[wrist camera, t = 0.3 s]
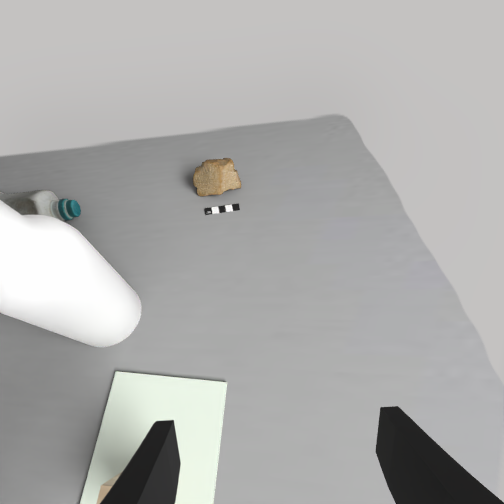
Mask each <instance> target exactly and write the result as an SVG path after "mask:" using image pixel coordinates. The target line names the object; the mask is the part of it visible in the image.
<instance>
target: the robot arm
mask: <svg viewBox="0 0 504 504" xmlns="http://www.w3.org/2000/svg"><path fill="white" fill-rule="evenodd" d="M376 454H377V457H378V460H379V463H380V465H381V468H382V471H383V474H384V477H385V479H386V482H387V485H388V487H389V490H390V492H391V494H392V496H393V498H394V501H395V503H396V504H504V503H503V502H502V501H501V500H500V499H499V498H498V497H496V496H495V495H494V494H493V493H492V492H490V491H489V490H488V489H487V488H486V487H485V486H483V485H482V484H481V483H480V482H479V481H478V480H476V479H475V478H474V477H473V476H472V475H471V474H470V473H468V472H467V471H466V470H465V469H464V468H463V467H462V466H461V465H460V464H458V463H457V462H456V461H455V460H454V459H453V458H452V457H451V456H450V455H449V454H447V453H446V452H445V451H444V450H443V449H442V448H441V447H440V446H439V445H438V444H437V443H436V442H435V441H434V440H433V439H431V438H430V437H429V436H428V435H427V434H426V433H425V432H424V431H423V430H422V429H421V428H420V427H419V426H418V425H417V424H416V423H415V422H414V421H413V420H412V419H411V418H410V417H409V416H408V415H406V414H405V413H404V412H403V411H402V410H401V409H400V408H399V407H398V406H396V407H381V408H380V417H379V426H378V435H377V444H376ZM180 466H181V462H180V455H179V449H178V443H177V437H176V431H175V425H174V420H164V421H156V422H155V423H154V424H153V425H152V427H151V428H150V430H149V432H148V433H147V435H146V437H145V438H144V440H143V441H142V443H141V445H140V446H139V448H138V449H137V451H136V452H135V454H134V455H133V457H132V458H131V460H130V461H129V463H128V464H127V466H126V467H125V469H124V470H123V472H122V473H121V475H120V476H119V477H118V479H117V480H116V482H115V483H114V485H113V486H112V488H111V489H110V490H109V492H108V493H107V495H106V496H105V497H104V499H103V500H102V501H101V503H100V504H175V501H176V495H177V488H178V481H179V473H180Z"/></svg>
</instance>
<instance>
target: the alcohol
mask: <svg viewBox="0 0 504 504" xmlns="http://www.w3.org/2000/svg"><path fill="white" fill-rule="evenodd" d="M0 313H2V314H5V315H8V316H10V317H13V318H16V319H19V320H21V321H24V322H27V323H30V324H32V325H35V326H38V327H41V328H43V329H46V330H49V331H52V332H55V333H57V334H60V335H63V336H66V337H68V338H71V339H74V340H77V341H79V342H82V343H85V344H88V345H90V346H95V347H107V346H112V345H115V344H117V343H119V342H121V341H122V340H124V339H125V338H127V337H128V336H129V335H130V334H131V333H132V332H133V330H134V329H135V328H136V326H137V324H138V322H139V319H140V317H141V302H140V298H139V296H138V295H137V293H136V292H135V291H134V290H133V289H132V288H131V286H130V285H129V284H128V283H127V282H126V281H125V280H124V279H123V278H122V277H121V276H120V275H119V274H118V273H117V272H116V270H115V269H114V268H113V267H112V266H111V265H110V264H109V263H108V262H107V261H106V260H105V259H104V258H103V257H102V256H101V254H100V253H99V252H98V251H97V250H96V249H95V248H94V247H93V246H92V245H91V244H90V243H89V242H88V241H87V240H86V238H85V237H84V236H83V235H82V234H81V233H80V232H79V231H78V230H77V229H75V228H74V227H72V226H71V225H69V224H67V223H65V222H63V221H61V220H59V219H56V218H54V217H51V216H46V215H21V214H19V213H18V212H17V211H15V210H14V209H12V208H11V207H9V206H8V205H7V204H5V203H4V202H2V201H1V200H0Z"/></svg>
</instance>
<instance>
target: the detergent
mask: <svg viewBox="0 0 504 504" xmlns="http://www.w3.org/2000/svg"><path fill="white" fill-rule="evenodd" d="M0 200H1V201H2V202H4V203H5V204H7V205H8V206H9V207H11V208H12V209H14V210H15V211H17V212H18V213H19V214H21V215H46V216H51V217H54V218H56V219H59V220H61V221H64V220H72V219H73V217H78V216H79V215H80V212H81V210H80V206H79V204H78V203H77V201H75V200H68V199H61V200H58V198H57V197H56V195H55V194H54V193H53V192H51V191H48V190H38V191H32V192H23V193H13V194H5V193H3V192H1V191H0Z"/></svg>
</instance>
